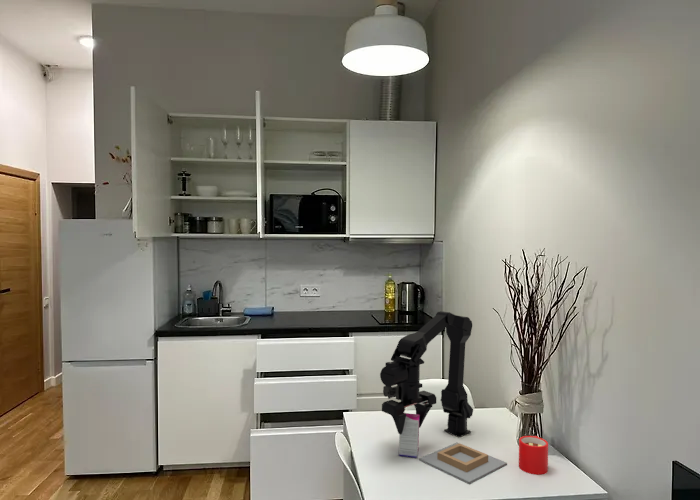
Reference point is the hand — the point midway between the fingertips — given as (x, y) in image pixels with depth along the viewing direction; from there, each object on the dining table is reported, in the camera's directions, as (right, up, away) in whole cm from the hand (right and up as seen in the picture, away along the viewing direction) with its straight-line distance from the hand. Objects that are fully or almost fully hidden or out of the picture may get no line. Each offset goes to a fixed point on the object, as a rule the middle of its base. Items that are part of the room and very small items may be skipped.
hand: (409, 430), depth 149 cm
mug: (+35, -8, -7) cm, 37 cm away
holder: (+15, -7, -6) cm, 18 cm away
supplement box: (0, -7, 0) cm, 7 cm away
